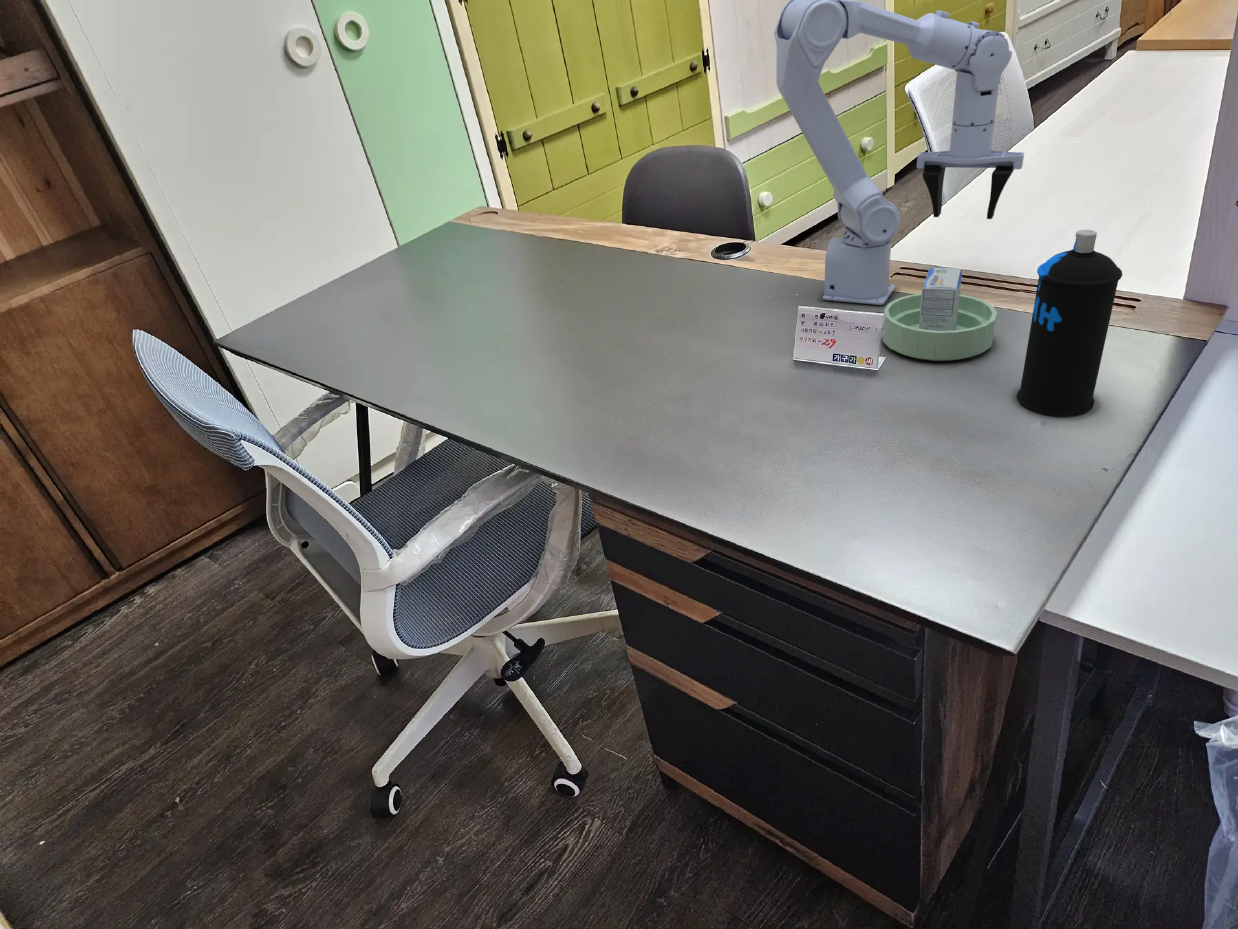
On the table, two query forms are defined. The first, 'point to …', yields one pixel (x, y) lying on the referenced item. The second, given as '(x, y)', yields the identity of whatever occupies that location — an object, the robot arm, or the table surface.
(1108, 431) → the table surface
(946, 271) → the medicine box
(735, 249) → the table surface
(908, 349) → the bowl
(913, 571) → the table surface
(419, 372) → the table surface
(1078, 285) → the aerosol can
